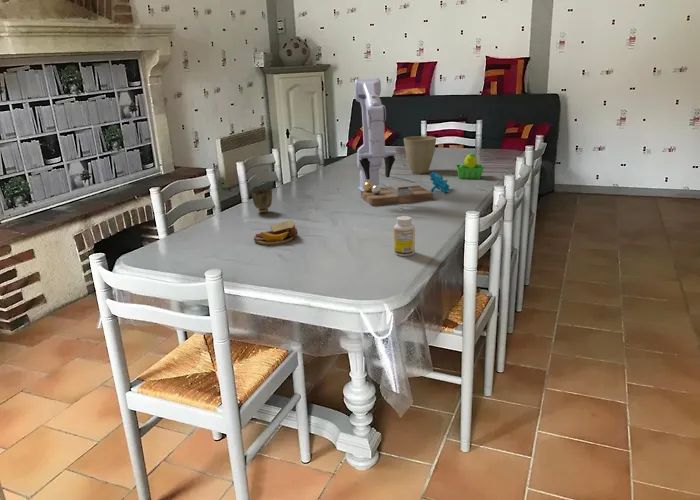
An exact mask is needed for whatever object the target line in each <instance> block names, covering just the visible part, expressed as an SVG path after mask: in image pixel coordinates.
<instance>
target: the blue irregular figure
mask: <svg viewBox="0 0 700 500" xmlns="http://www.w3.org/2000/svg"><path fill="white" fill-rule="evenodd" d="M429 177H430V179H429V180H430V181H432V186H433V187H431V189H430V192H434V191H435V190H436V189H437V190H440V192H441V193H445V194H447V193H449V192H450V191H451V189H450V185H449V184H448V178H446V179H444V177H443V176H442V175H440V174H439V173H438V172H434V171H432V172H431V173H430V175H429Z"/></svg>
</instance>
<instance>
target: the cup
mask: <svg viewBox="0 0 700 500" xmlns="http://www.w3.org/2000/svg"><path fill="white" fill-rule="evenodd" d="M251 197H252V201H253V205H254V207H255V208H256V209H258V210H257V211H258V213H259V214H267V213H269V212H270V211H269V208H270V207H272V202H273V190H272V189H267V190H265V188H263V189H262V188H259V189H256V190H252V191H251Z"/></svg>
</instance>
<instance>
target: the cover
mask: <svg viewBox="0 0 700 500" xmlns="http://www.w3.org/2000/svg"><path fill="white" fill-rule="evenodd" d="M408 186H409V185H405V184H404V183H400V184H399V183H398V184H390V185H389V191H390V192H392V193H393V194H395V195H397V196H404V195H412V189H411V188H409V187H408Z"/></svg>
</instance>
